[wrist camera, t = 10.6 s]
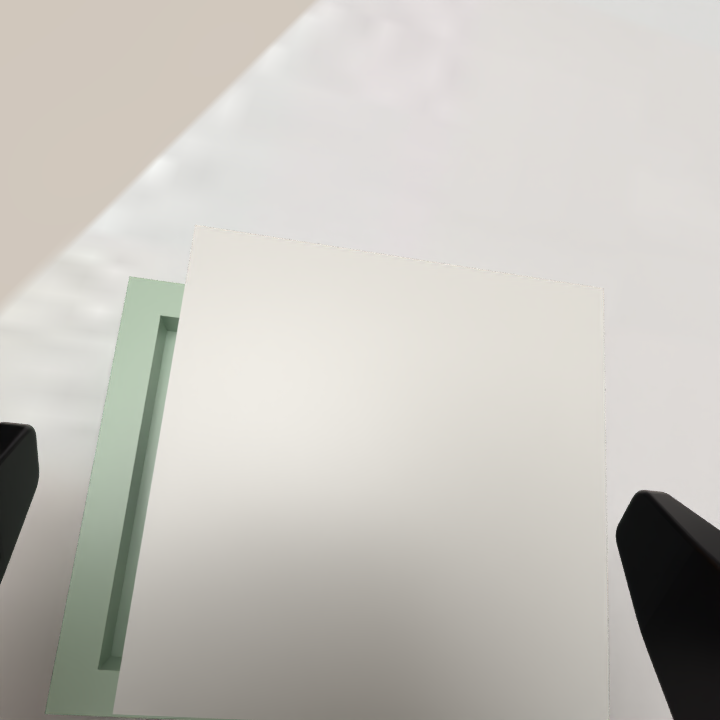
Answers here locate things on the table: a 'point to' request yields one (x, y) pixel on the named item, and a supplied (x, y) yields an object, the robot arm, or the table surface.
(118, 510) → the tray
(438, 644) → the grey tall block
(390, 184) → the table surface
